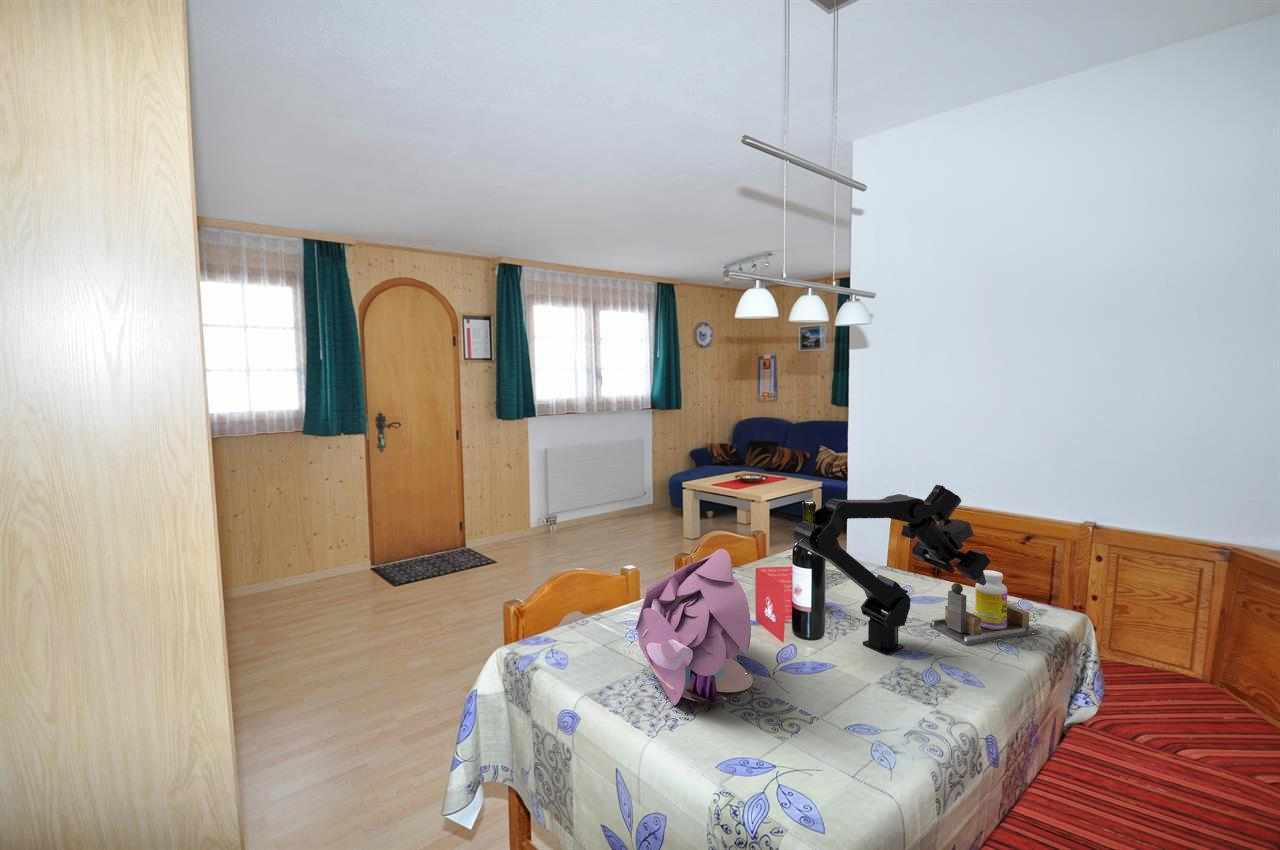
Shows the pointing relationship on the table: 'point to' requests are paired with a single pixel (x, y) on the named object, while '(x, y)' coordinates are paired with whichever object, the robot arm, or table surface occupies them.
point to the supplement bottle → (991, 601)
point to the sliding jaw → (960, 613)
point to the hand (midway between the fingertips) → (968, 577)
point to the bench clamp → (1014, 628)
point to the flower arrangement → (697, 630)
